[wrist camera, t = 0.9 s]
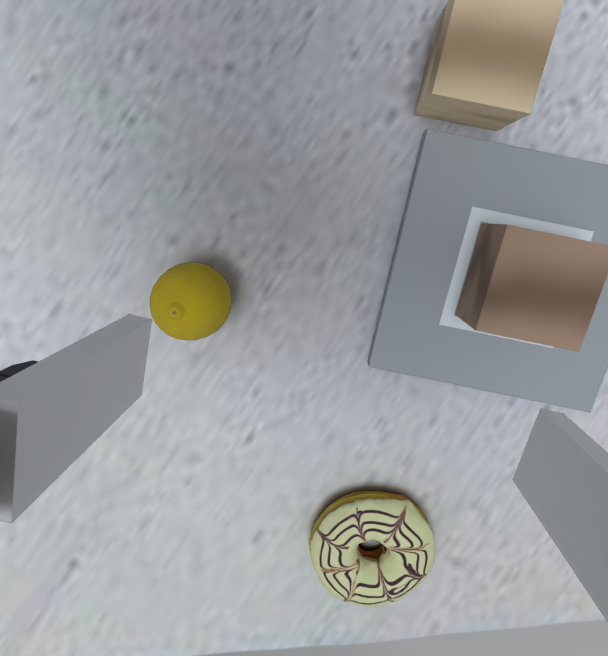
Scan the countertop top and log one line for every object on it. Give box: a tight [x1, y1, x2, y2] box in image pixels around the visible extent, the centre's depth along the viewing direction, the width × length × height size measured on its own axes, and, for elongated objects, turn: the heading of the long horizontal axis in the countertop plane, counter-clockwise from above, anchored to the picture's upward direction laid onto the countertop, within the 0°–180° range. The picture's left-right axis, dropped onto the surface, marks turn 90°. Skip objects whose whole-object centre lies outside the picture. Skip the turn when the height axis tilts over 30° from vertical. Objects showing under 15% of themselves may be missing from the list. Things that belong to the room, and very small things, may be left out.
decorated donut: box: [309, 491, 435, 607], centre depth 40 cm, size 10×11×4 cm
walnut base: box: [455, 223, 608, 352], centre depth 32 cm, size 7×7×5 cm
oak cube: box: [414, 0, 564, 131], centre depth 30 cm, size 6×6×6 cm
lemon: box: [150, 262, 232, 340], centre depth 33 cm, size 6×6×8 cm
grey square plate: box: [368, 129, 608, 412], centre depth 35 cm, size 18×18×1 cm
